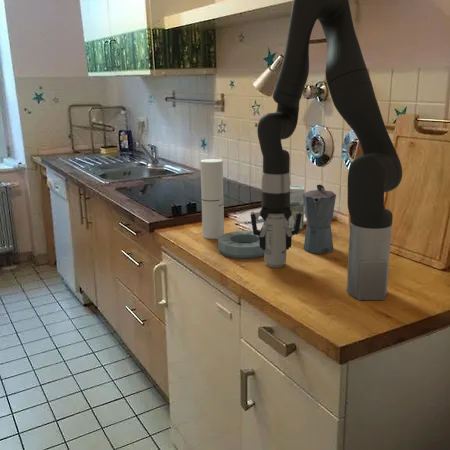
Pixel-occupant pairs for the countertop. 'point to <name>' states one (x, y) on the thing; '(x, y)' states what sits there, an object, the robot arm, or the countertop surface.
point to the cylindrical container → (212, 198)
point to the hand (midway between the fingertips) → (275, 248)
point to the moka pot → (319, 220)
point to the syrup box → (296, 204)
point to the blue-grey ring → (240, 245)
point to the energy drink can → (275, 240)
